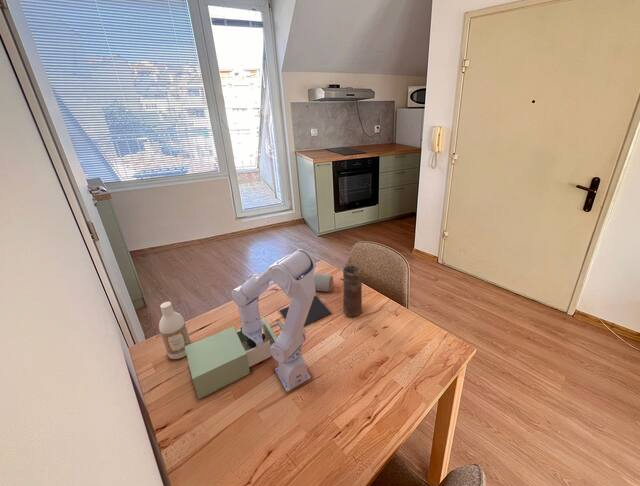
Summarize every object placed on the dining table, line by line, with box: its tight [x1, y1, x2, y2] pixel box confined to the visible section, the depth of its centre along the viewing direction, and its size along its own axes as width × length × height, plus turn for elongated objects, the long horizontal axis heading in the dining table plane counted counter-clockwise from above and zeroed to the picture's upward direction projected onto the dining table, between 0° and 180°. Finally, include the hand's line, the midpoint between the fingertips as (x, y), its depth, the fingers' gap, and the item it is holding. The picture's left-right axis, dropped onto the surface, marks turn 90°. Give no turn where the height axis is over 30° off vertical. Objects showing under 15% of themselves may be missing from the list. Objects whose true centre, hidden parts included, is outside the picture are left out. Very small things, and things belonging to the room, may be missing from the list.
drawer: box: [236, 316, 284, 368], centre depth 98 cm, size 18×12×7 cm
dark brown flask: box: [342, 265, 363, 318], centre depth 115 cm, size 8×7×20 cm
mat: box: [279, 295, 332, 327], centre depth 117 cm, size 13×16×1 cm
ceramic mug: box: [314, 272, 334, 293], centre depth 131 cm, size 11×8×8 cm
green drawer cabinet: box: [185, 326, 251, 400], centre depth 91 cm, size 15×14×9 cm
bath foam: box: [158, 301, 192, 360], centre depth 94 cm, size 7×7×20 cm
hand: (255, 347), depth 98 cm, fingers closed on bottle, 4 cm apart
